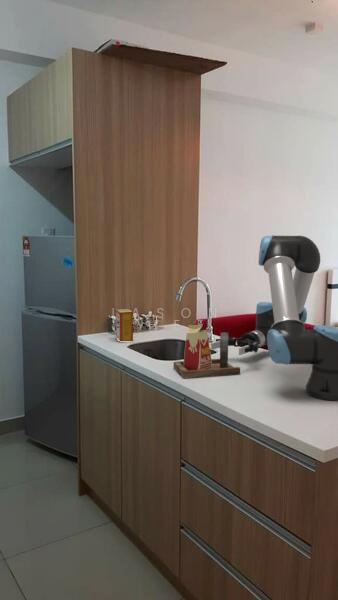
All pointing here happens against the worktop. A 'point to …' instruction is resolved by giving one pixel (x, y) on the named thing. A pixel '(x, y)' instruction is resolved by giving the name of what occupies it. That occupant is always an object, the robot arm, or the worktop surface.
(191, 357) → the milk carton
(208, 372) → the wooden tray
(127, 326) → the baking soda box
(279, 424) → the worktop surface
